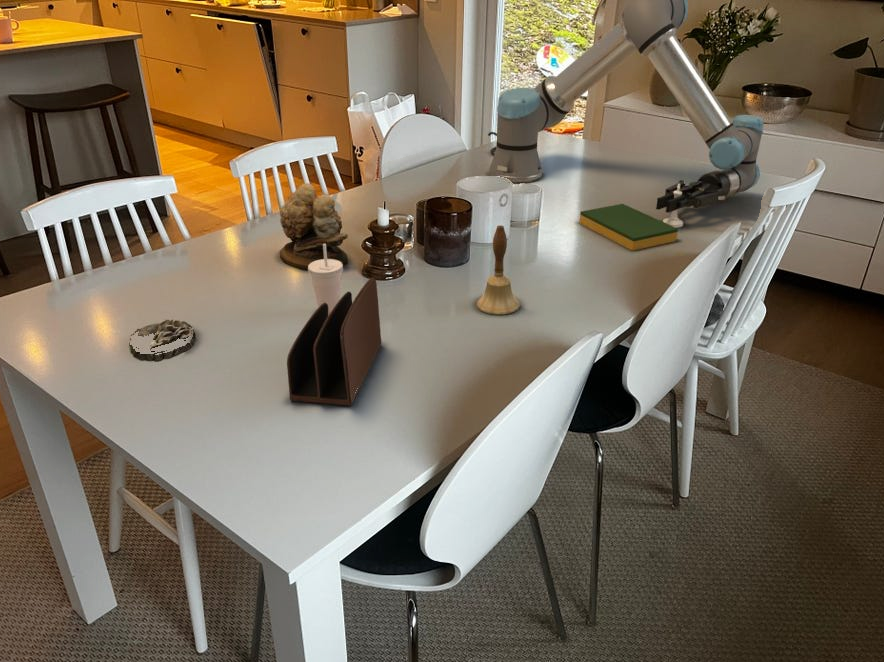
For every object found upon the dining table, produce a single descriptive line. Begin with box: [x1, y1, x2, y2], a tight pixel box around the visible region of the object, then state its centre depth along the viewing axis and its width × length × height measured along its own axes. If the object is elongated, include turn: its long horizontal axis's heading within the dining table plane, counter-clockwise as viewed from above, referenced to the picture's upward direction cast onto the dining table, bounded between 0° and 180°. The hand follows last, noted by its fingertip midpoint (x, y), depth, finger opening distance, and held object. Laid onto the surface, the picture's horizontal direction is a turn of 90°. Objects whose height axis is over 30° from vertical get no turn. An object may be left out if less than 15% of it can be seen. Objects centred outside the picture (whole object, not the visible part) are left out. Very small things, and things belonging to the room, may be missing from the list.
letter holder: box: [286, 277, 382, 407], centre depth 119 cm, size 10×20×14 cm, turn 171°
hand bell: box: [476, 224, 521, 316], centre depth 140 cm, size 8×8×16 cm
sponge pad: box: [579, 203, 679, 251], centre depth 178 cm, size 20×13×3 cm, turn 27°
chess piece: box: [662, 184, 684, 229], centre depth 180 cm, size 5×5×10 cm
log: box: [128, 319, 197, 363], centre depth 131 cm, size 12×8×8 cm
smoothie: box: [307, 244, 344, 316], centre depth 138 cm, size 6×6×14 cm
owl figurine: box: [279, 182, 349, 271], centre depth 159 cm, size 18×12×17 cm, turn 57°
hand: (663, 205), depth 177 cm, fingers closed on chess piece, 2 cm apart
